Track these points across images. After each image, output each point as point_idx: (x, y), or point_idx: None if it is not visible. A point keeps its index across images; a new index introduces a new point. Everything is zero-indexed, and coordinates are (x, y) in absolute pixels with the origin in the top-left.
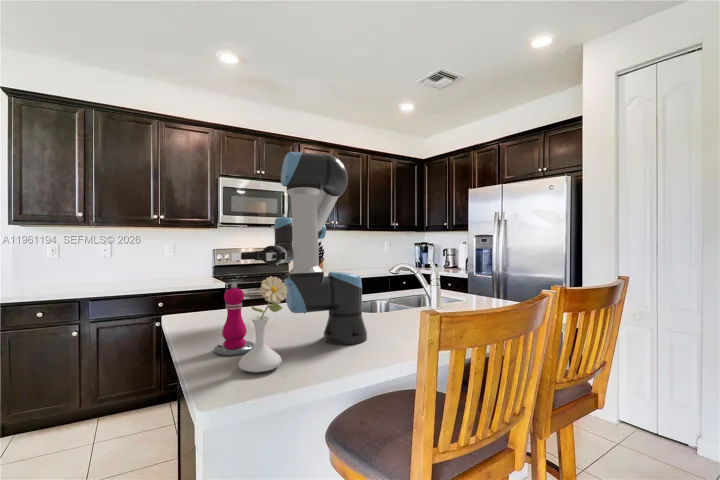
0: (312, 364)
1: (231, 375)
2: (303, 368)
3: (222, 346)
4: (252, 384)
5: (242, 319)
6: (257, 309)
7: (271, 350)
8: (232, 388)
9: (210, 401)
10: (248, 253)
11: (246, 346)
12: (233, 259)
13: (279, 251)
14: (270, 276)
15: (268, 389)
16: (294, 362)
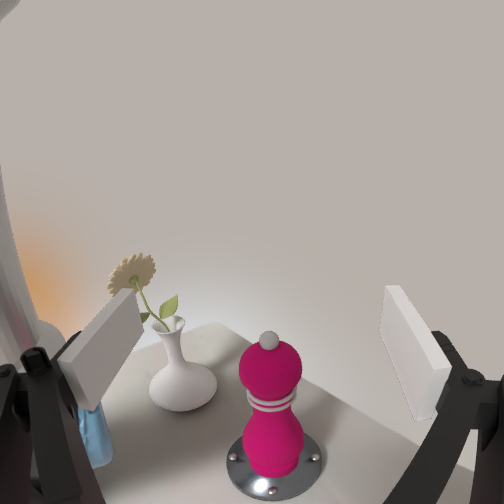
0: (104, 404)
1: (221, 373)
2: (119, 393)
3: (302, 453)
4: (183, 357)
5: (253, 429)
6: (168, 305)
7: (160, 374)
8: (204, 349)
9: (217, 330)
10: (418, 453)
11: (243, 460)
12: (385, 336)
13: (28, 356)
14: (133, 254)
15: (162, 349)
16: (131, 412)
